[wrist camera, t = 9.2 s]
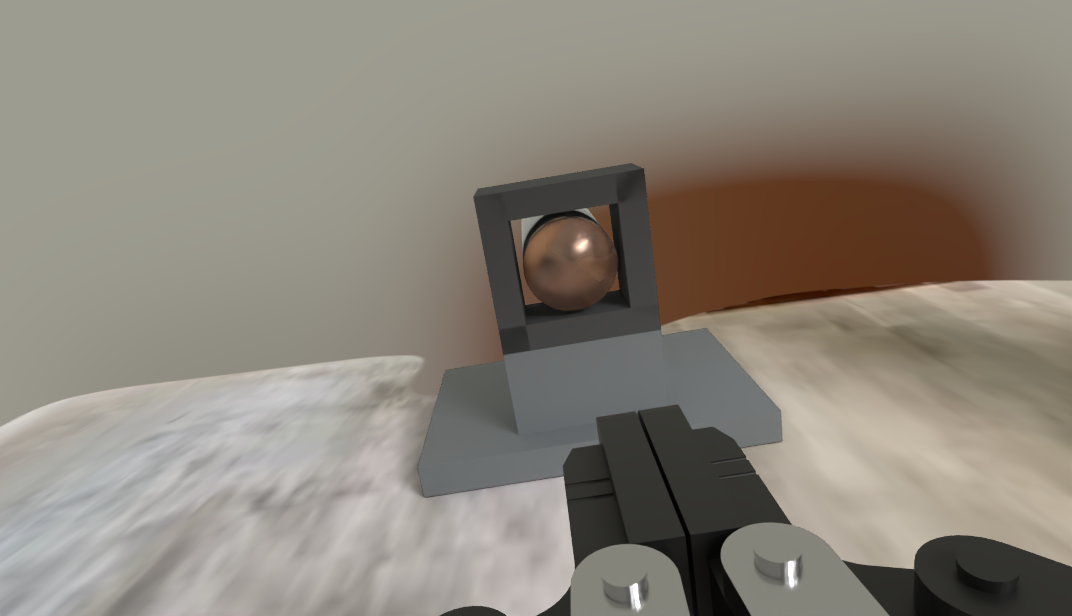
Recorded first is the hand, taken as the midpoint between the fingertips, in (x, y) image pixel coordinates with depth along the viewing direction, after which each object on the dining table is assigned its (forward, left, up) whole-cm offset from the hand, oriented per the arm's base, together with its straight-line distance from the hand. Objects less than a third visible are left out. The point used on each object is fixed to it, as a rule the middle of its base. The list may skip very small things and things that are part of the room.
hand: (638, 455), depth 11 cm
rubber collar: (0, -17, -4) cm, 17 cm away
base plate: (0, -19, -9) cm, 21 cm away
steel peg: (0, -21, -2) cm, 21 cm away
